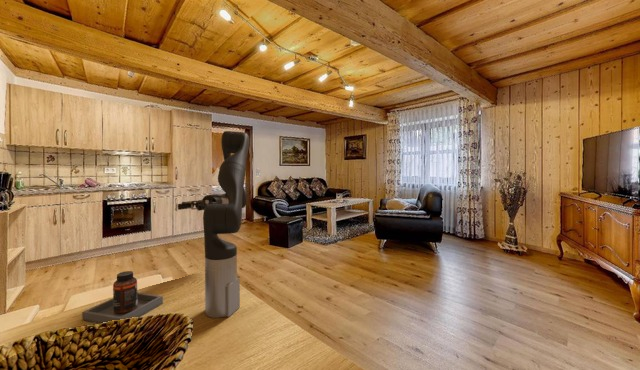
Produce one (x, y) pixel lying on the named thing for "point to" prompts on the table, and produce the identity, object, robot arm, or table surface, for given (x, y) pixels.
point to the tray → (106, 313)
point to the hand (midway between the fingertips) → (188, 207)
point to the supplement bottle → (125, 292)
